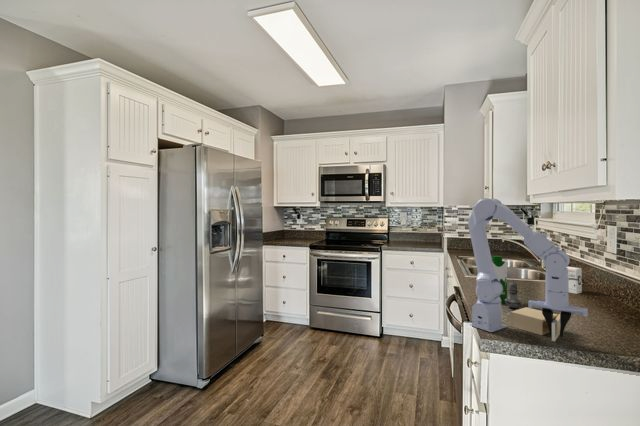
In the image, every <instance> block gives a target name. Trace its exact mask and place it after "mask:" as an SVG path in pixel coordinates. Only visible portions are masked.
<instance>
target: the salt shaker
mask: <svg viewBox="0 0 640 426" xmlns="http://www.w3.org/2000/svg"><path fill="white" fill-rule="evenodd" d="M507 292H508V295H507V299H505V302H506V303H505V304H506V305H507V306H506V307H505V310H506V311H510V312H512V311H515V310H518V309H520V308H519V307H520V306H521V303H522V300H521V299H519V298H518V293H519V291H518V283H517V282H515V280H514V279H512V280H511V282H509V283H508V289H507Z"/></svg>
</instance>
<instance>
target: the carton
mask: <svg viewBox="0 0 640 426" xmlns="http://www.w3.org/2000/svg"><path fill="white" fill-rule="evenodd" d="M558 315H559V314H557V313H553V320H554V319H556V318H557V316H558ZM510 327H512V328H515V329H520V330H522V331H526V332H529V333H531V334H532V333H533V334H536V335H539V336H544V335H546V334H550V331H549V327H548V324H547V322H546V320H545V318H544V316H543V314H542V310H541V309H537V308H529V307H527V306H526V307H522V308H519V309H518V310H515V311H510Z"/></svg>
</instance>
